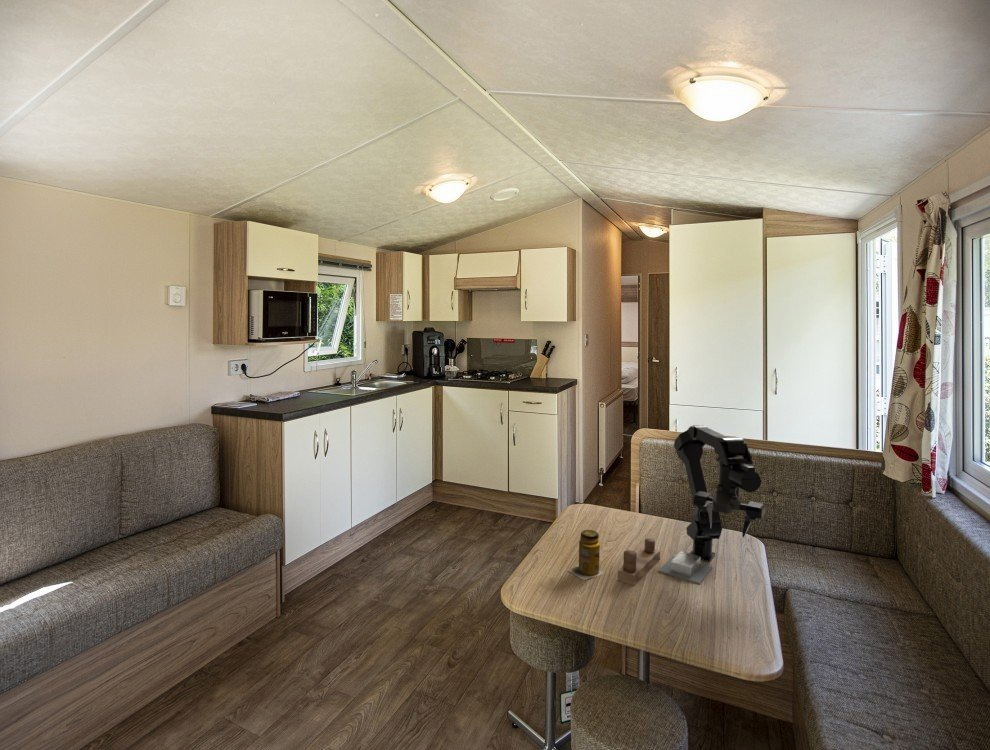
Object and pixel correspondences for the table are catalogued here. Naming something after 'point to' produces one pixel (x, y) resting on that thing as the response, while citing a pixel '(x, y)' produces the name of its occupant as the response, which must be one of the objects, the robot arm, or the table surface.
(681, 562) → the lever cap
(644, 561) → the plane body
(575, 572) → the condiment
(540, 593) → the table surface
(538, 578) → the table surface
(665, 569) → the rubber mat
